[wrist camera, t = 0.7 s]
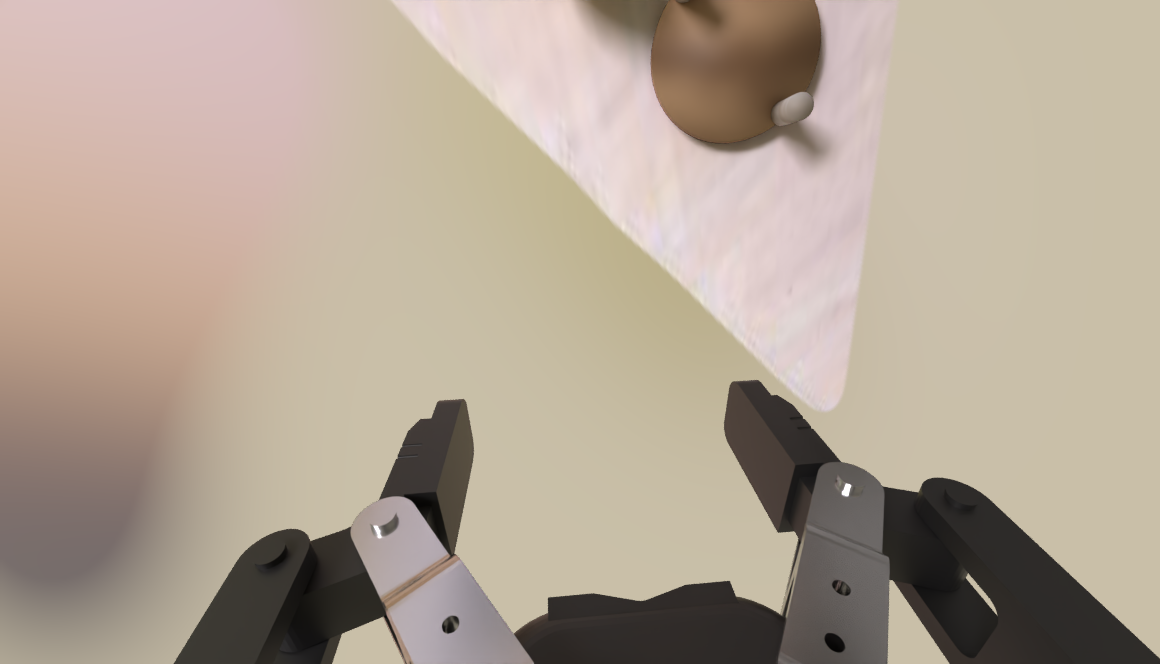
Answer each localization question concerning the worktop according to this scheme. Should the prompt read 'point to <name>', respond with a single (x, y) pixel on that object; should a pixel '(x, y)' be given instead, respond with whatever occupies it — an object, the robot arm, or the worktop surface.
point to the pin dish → (735, 65)
